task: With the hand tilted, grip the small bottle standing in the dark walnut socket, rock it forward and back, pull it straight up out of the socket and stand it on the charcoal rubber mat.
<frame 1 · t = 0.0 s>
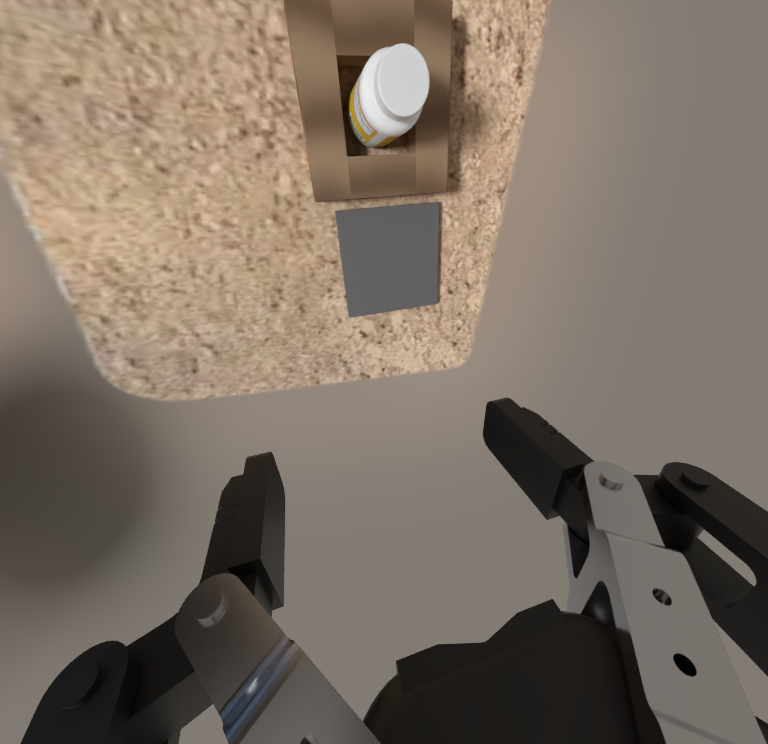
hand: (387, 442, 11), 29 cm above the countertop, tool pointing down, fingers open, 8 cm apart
supplement bottle: (372, 116, 30), resting in walnut socket
rubber mat: (390, 261, 37), on the countertop
walnut socket: (373, 115, 30), on the countertop
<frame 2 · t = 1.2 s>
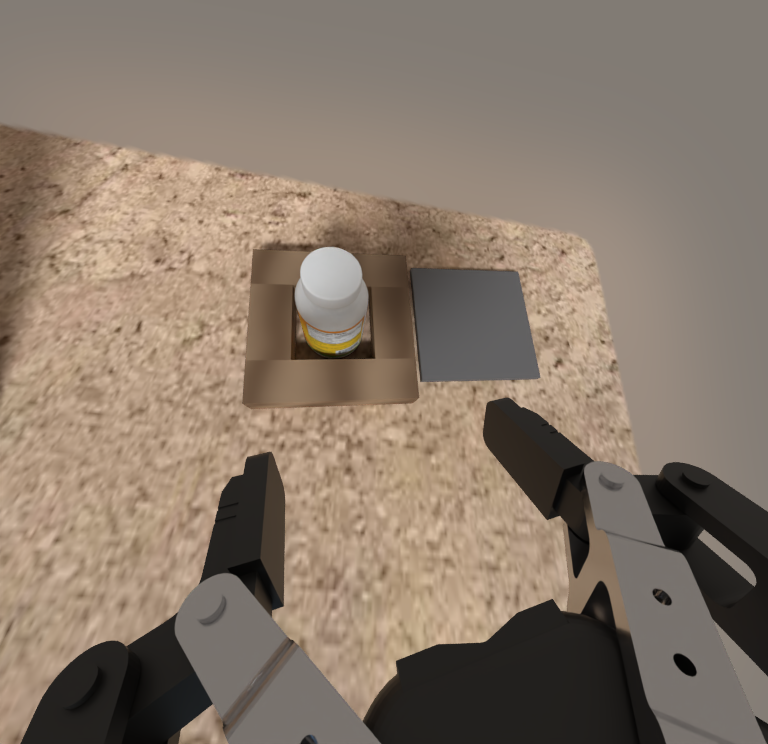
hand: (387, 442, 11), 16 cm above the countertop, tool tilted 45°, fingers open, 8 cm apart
supplement bottle: (333, 333, 29), resting in walnut socket
rubber mat: (471, 324, 31), on the countertop
walnut socket: (333, 332, 29), on the countertop
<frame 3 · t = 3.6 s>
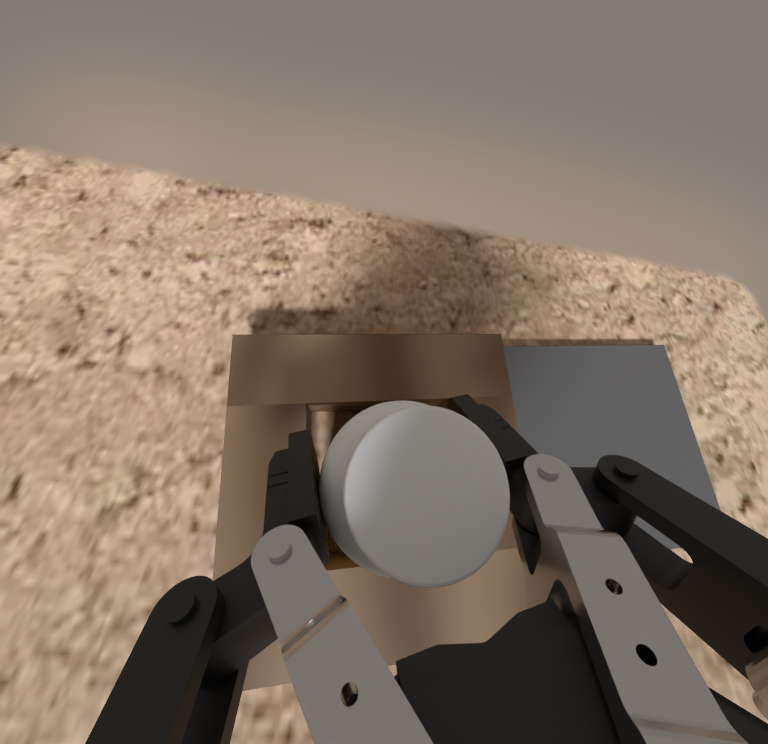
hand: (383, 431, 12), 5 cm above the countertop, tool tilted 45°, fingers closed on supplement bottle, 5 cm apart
supplement bottle: (377, 473, 16), resting in walnut socket, touching gripper
rubber mat: (602, 440, 19), on the countertop
walnut socket: (377, 474, 16), on the countertop
when the fingers open (7 cm above the countertop, at t = 10.2 s): supplement bottle stays where it is, resting on rubber mat.
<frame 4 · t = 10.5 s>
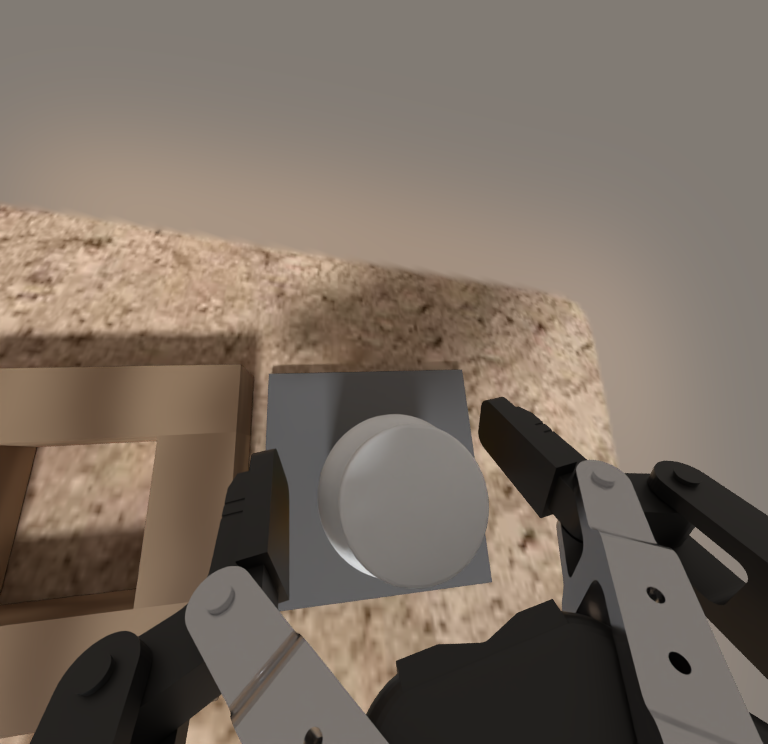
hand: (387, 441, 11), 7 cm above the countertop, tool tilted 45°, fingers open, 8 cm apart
supplement bottle: (374, 478, 17), resting on rubber mat
rubber mat: (374, 473, 18), on the countertop
walnut socket: (99, 514, 15), on the countertop
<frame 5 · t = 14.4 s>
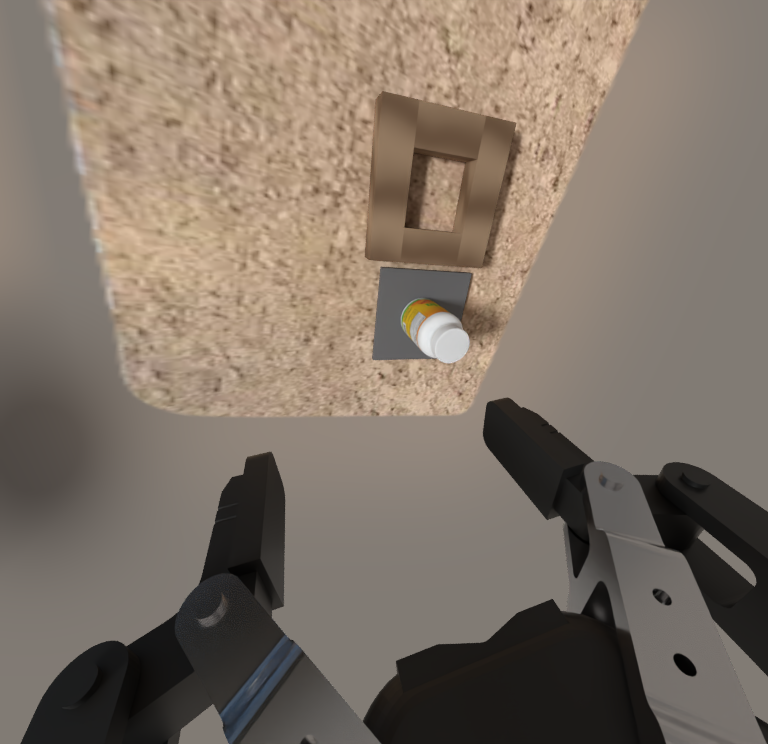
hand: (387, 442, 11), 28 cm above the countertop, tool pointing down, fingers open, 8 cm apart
supplement bottle: (418, 316, 40), resting on rubber mat
rubber mat: (419, 316, 40), on the countertop
walnut socket: (430, 194, 34), on the countertop
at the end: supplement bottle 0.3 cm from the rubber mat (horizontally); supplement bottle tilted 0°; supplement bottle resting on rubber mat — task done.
